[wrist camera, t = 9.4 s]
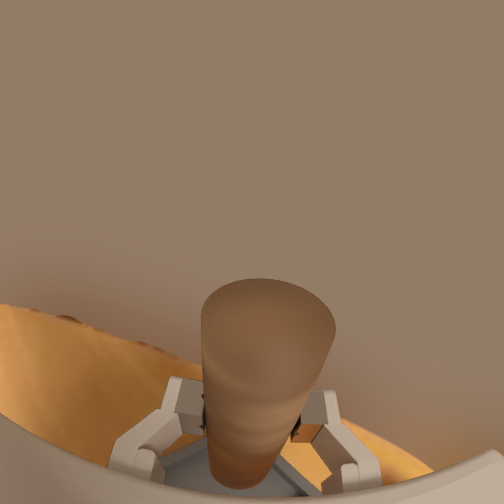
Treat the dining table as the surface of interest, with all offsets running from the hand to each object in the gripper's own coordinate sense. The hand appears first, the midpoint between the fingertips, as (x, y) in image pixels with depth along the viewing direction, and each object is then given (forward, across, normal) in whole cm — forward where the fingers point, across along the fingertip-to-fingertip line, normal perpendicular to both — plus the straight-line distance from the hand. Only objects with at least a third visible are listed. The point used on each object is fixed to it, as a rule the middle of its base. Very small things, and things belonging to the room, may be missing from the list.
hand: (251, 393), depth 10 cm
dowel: (-1, 0, +7) cm, 7 cm away
